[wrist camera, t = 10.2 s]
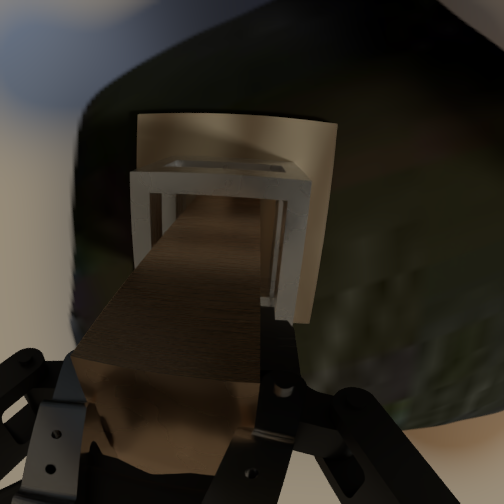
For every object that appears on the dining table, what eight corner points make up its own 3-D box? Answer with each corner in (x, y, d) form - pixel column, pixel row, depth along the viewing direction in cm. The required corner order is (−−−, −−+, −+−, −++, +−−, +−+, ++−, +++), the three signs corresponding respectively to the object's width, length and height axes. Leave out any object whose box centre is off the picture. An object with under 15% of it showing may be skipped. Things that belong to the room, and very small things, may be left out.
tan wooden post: (260, 197, 20) (259, 383, 6) (254, 275, 23) (245, 496, 8) (198, 193, 20) (70, 356, 6) (198, 271, 23) (123, 477, 8)
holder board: (334, 124, 21) (337, 124, 20) (307, 316, 27) (309, 323, 26) (142, 114, 21) (137, 114, 20) (148, 304, 27) (145, 310, 26)
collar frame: (293, 162, 21) (311, 181, 14) (280, 290, 25) (287, 356, 18) (173, 155, 21) (130, 171, 14) (174, 281, 25) (144, 343, 18)
